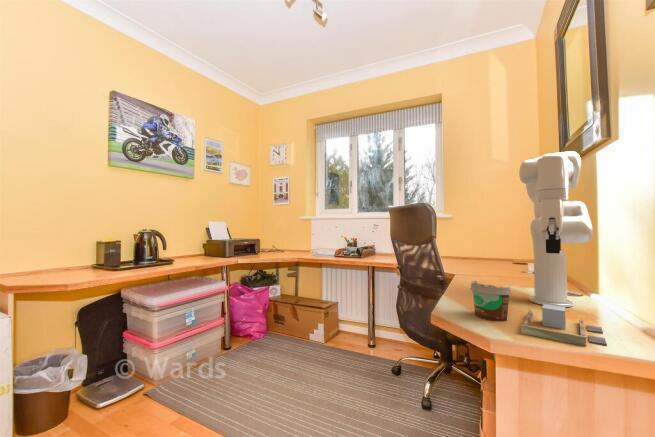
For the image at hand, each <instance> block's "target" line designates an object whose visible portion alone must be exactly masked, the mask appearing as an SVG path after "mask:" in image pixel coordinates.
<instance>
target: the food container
mask: <svg viewBox="0 0 655 437" xmlns="http://www.w3.org/2000/svg"><path fill="white" fill-rule="evenodd" d="M469 289H470V290H471V291H472V295H473V306H474V307H473V308H474V315H475V316H476V317H478V318H480V319H482V320H483V319H484V320H486V321H493V322H507V321H508V313H509V304H510V303H509V300H510V295H511V296H512V291H511V288H510V286H509V287H508V286H507V287H497V286H495V285H490V284H489V285H488V284H481V283H478V282H477V280H472V282H471V284H470V288H469Z"/></svg>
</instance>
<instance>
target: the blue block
mask: <svg viewBox="0 0 655 437" xmlns="http://www.w3.org/2000/svg"><path fill="white" fill-rule="evenodd" d="M541 311H542V312H541V314H542V315H541V317H542V326H545V327H551V328H555V329H560V330H566V327H567V326H566V322H567V321H566V316H567V315H566V307H560V306H552V305H545V304H543V305H542V308H541Z"/></svg>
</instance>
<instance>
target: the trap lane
mask: <svg viewBox="0 0 655 437" xmlns="http://www.w3.org/2000/svg"><path fill="white" fill-rule="evenodd" d="M533 314H534V311H533V310H528V312H527V314H526V316H525V319H524V321H523V323H522V324H520V333H521V334H524V335H528V336H533V337H538V338H543V339H547V340H548V339H549V340H554V341H558V342H563V343H568V344H574V345H578V346H583V347H587V337H588V341H589V344H595V345H601V346H608V345H607V344H608V343H607V340H606V337H601V336H596V335H591V334H588V336H586V331H585V324H584V318H581V317H579V318H578V319H579V320H578V324H579V332H580V333H579V334H580V335H579V334H575V333H574V334H573V333H569V332H563V331H558V330H552V329H547V328H541V327H536V326H531V325H530V323H531V321H532V318H533ZM586 330H587V332H589V333H596V334H601V335H604V332H603V329H602V326H595V325H590V324H586Z"/></svg>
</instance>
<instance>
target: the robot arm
mask: <svg viewBox="0 0 655 437" xmlns="http://www.w3.org/2000/svg"><path fill="white" fill-rule="evenodd" d="M580 156H581V155H579V153H577V151H572V150H571V151H562V152H554V153H553V152H552V153H545V154H542V155H540V156H538V157H536V158H532V159H527V160H524V161H522V162H521V164H520V167H519V169H518V170H519V172H518V174H519V176H518V177H519V179H520V182H521V183H522V184H524V185H525V187H526V188H525V189H526V192H527V196H528V197H529V198H528V199H530V201H531V202H532V204H533V210H534V213H533V214H534V219H533V220H532V221H531V223H530V227H529V228H530V235H531V239H532V245H533V246H532V247H533V248H532V249H533V284H534V286H533V289H534V295H531V296H529V301H530V302H532V303H534V304H538V305H542V306H543V304H545V305H552V306H560V307H565V308H571V307H573V306H574V302H573V301H572V300H568V280H567V279H568V276H567V275H568V274H567V273H568V272H567V268H568V267H567V266H568V265H567V263H568V262H567V256H566V253H565V251H564V250H563V249H562V244H586V243H588V242H590V241H591V240H592V238H593V235H594V227H593V224H592V220H591V216H590V213H589V210H588V207H587V204H585V203H584V202H583V201H579V200H569V196H570V195H569V191H571V190H574V189H576V188H577V186H578V185H579V179H580V174H581V168H582V160H581V157H580Z"/></svg>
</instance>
